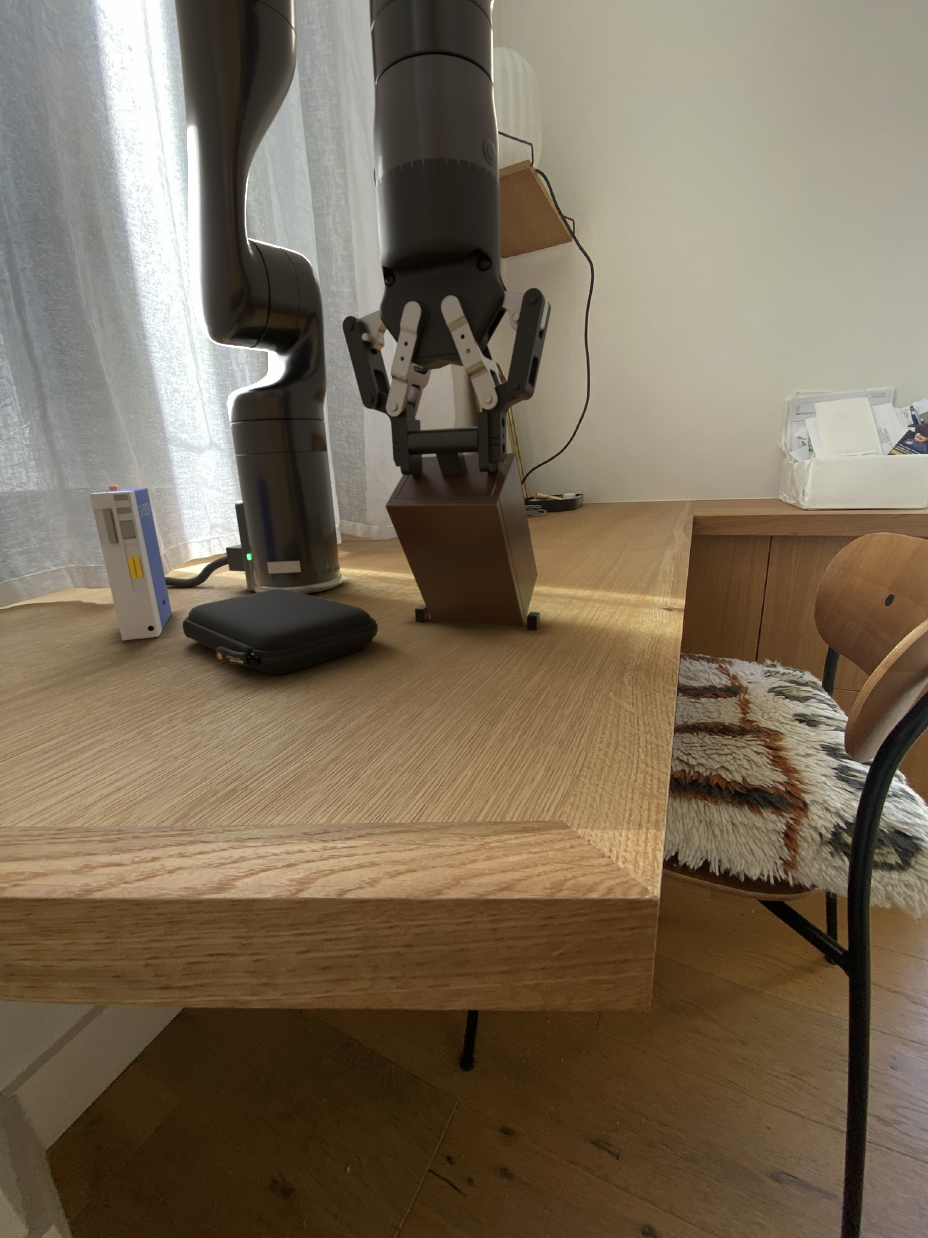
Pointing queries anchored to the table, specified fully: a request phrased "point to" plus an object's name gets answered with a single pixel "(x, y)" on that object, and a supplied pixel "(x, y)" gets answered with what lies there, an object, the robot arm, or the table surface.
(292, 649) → the carrying case
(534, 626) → the dark bar
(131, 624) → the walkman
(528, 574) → the brown box with handle
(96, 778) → the table surface
